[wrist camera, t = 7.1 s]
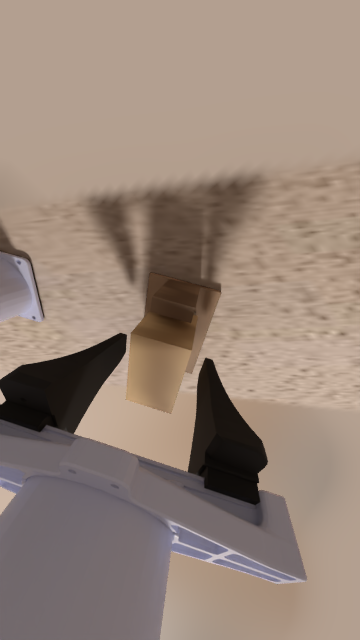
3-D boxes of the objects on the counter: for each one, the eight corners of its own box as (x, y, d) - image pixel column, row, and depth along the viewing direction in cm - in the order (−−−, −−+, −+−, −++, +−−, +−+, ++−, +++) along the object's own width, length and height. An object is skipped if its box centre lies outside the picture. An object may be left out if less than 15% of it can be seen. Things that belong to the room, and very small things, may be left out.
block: (147, 360, 18) (125, 399, 13) (155, 304, 14) (130, 332, 10) (181, 370, 18) (171, 413, 13) (197, 315, 14) (191, 350, 10)
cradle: (141, 355, 21) (119, 390, 16) (151, 272, 16) (123, 288, 11) (192, 370, 21) (186, 411, 16) (220, 290, 15) (225, 316, 10)
